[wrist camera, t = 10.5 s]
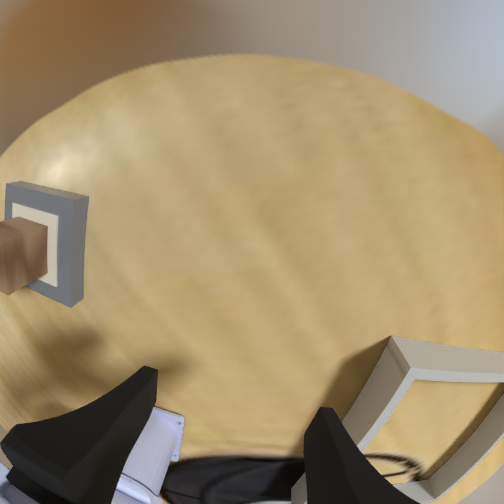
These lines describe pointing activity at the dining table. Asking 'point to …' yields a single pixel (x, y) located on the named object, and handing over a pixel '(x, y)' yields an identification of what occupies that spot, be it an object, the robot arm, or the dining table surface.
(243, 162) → the dining table surface
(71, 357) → the dining table surface
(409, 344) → the grey corral
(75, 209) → the plate
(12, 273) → the walnut block
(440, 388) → the dining table surface
